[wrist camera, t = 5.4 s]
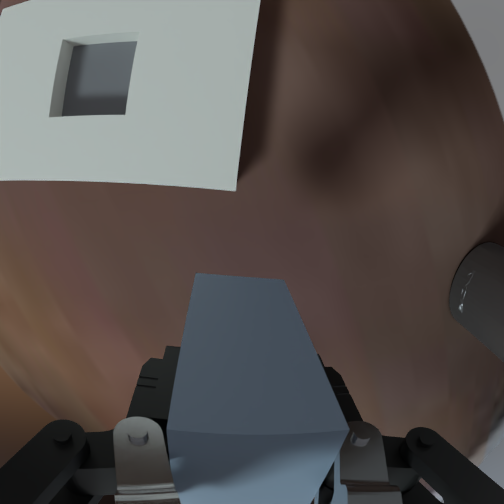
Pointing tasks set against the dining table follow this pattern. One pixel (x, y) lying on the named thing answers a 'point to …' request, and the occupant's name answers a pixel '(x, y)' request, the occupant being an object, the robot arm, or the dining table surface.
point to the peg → (249, 399)
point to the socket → (125, 90)
